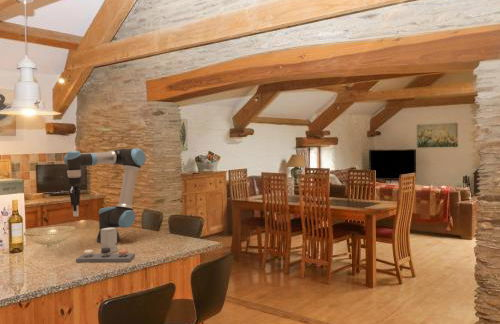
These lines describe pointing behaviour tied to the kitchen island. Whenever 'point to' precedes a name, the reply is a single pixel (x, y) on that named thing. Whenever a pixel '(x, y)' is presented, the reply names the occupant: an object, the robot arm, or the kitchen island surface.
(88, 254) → the button cream
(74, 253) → the kitchen island surface
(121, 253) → the button terracotta
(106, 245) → the skincare box
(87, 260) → the button board
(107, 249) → the button black
